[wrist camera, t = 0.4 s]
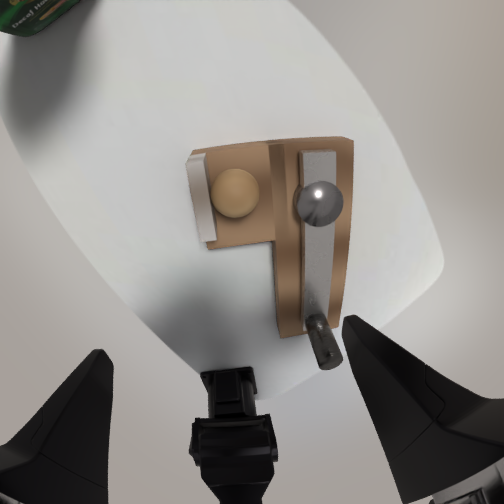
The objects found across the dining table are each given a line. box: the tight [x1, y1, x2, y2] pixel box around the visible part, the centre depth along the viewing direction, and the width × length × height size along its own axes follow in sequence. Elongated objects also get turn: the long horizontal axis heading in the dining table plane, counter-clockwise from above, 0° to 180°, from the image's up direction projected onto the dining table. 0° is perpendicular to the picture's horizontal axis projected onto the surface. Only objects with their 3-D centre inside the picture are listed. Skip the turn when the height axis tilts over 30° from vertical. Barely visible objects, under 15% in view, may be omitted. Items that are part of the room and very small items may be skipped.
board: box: [186, 137, 354, 338], centre depth 21 cm, size 18×11×5 cm, turn 6°
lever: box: [293, 149, 344, 370], centre depth 18 cm, size 16×3×6 cm, turn 6°
